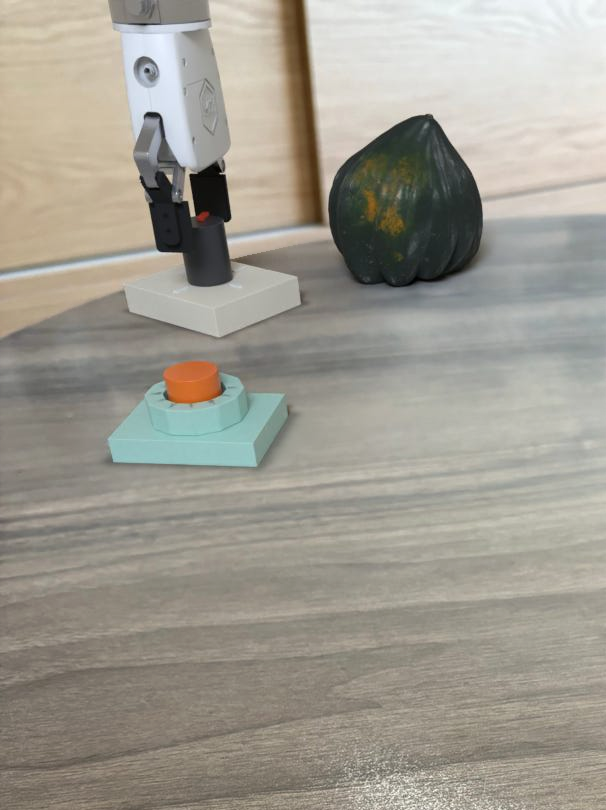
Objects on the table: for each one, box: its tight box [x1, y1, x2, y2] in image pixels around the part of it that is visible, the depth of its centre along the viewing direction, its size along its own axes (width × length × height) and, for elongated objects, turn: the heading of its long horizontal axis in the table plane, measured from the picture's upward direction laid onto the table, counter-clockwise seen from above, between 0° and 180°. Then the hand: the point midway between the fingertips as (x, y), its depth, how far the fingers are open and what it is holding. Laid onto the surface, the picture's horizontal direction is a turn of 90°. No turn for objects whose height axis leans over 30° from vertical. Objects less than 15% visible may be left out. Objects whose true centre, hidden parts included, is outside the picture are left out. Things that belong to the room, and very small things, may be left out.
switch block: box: [107, 372, 289, 468], centre depth 71 cm, size 10×8×4 cm
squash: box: [327, 113, 484, 287], centre depth 98 cm, size 14×15×15 cm
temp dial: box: [181, 212, 233, 286], centre depth 91 cm, size 4×4×5 cm
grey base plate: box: [123, 260, 302, 338], centre depth 93 cm, size 12×10×3 cm
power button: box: [162, 360, 222, 404], centre depth 70 cm, size 4×4×2 cm
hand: (196, 235), depth 90 cm, fingers open, 9 cm apart
